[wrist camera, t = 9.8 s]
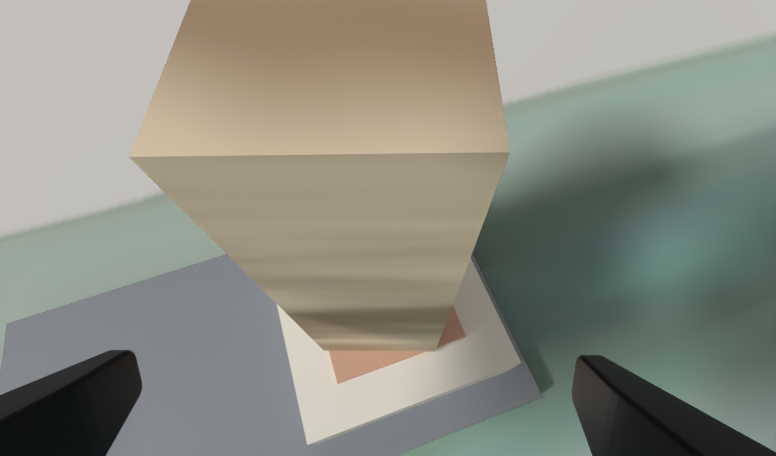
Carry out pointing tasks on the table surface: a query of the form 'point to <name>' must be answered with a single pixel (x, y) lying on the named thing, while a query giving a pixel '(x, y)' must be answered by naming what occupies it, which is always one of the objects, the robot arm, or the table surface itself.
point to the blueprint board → (273, 369)
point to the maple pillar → (335, 154)
